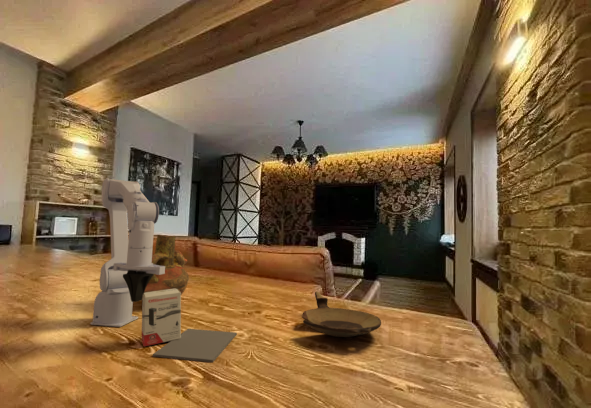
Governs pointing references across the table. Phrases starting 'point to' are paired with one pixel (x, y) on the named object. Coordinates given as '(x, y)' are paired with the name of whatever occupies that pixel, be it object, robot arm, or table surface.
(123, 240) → the robot arm
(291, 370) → the table surface
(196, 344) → the mat
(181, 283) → the ceramic vessel
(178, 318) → the ink box
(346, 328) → the broken handled dish
